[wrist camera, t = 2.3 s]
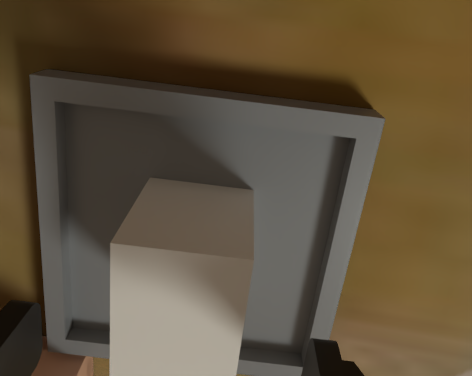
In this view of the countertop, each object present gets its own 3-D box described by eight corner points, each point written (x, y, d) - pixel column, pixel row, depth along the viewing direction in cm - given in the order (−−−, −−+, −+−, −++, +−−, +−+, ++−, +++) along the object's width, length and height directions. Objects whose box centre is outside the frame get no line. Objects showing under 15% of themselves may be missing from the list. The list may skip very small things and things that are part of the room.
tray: (47, 68, 16) (29, 74, 14) (374, 109, 16) (385, 118, 15) (60, 329, 20) (47, 351, 19) (313, 359, 21) (318, 383, 19)
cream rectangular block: (150, 177, 17) (110, 243, 12) (253, 190, 17) (254, 260, 12) (145, 285, 18) (109, 377, 14) (238, 296, 19) (233, 392, 14)
